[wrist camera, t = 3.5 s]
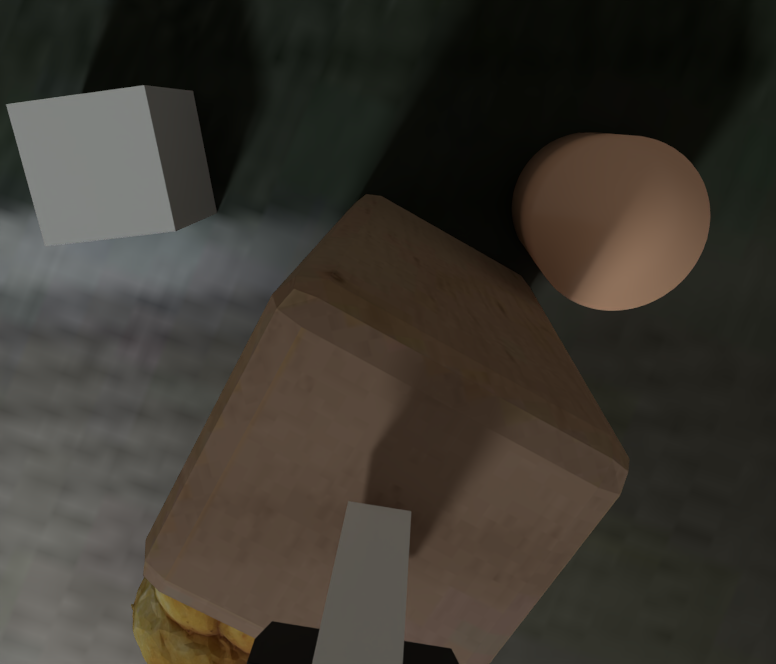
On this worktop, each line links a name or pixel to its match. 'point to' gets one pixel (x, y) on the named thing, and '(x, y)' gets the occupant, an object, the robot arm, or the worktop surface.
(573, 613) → the worktop surface
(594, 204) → the peach round cylinder
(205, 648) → the bread roll
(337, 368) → the wooden block
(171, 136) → the grey plastic cube
